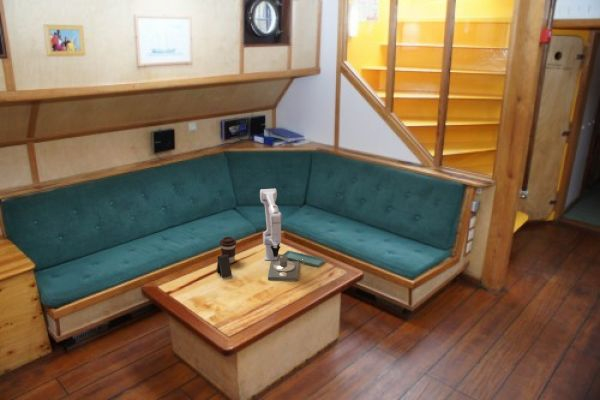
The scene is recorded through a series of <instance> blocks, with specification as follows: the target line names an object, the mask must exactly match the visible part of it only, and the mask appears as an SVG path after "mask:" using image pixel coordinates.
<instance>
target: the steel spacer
mask: <svg viewBox="0 0 600 400" xmlns="http://www.w3.org/2000/svg"><path fill="white" fill-rule="evenodd" d="M279 261H280V266H281V267H287V261H288V259H287V255H283V254H281V255H279Z"/></svg>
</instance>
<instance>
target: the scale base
mask: <svg viewBox="0 0 600 400" xmlns="http://www.w3.org/2000/svg"><path fill="white" fill-rule="evenodd" d="M277 261H278V260H270V265H269V270H268V275H267V280H268V281H287V280H288V281H290V282H292V281H293V282H298V279H299V266H300V263H299V262H298V261H292V260H290V261H291V262H293V263H294V264H295V268H294V269H293V270H292V271H288V272H280V271H277V270H275V269H274V268H273V264H274V263H275V262H277Z"/></svg>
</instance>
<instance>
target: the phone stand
mask: <svg viewBox="0 0 600 400" xmlns="http://www.w3.org/2000/svg"><path fill="white" fill-rule="evenodd" d="M216 273H217V274H218V275H219V276H220V277H221V278H227V277H230V276H231V277H232V276H233V274H232V268H231V263H230V261H229V255H227V254H225V255H222V254H221V255H218V256H217V263H216Z"/></svg>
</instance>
